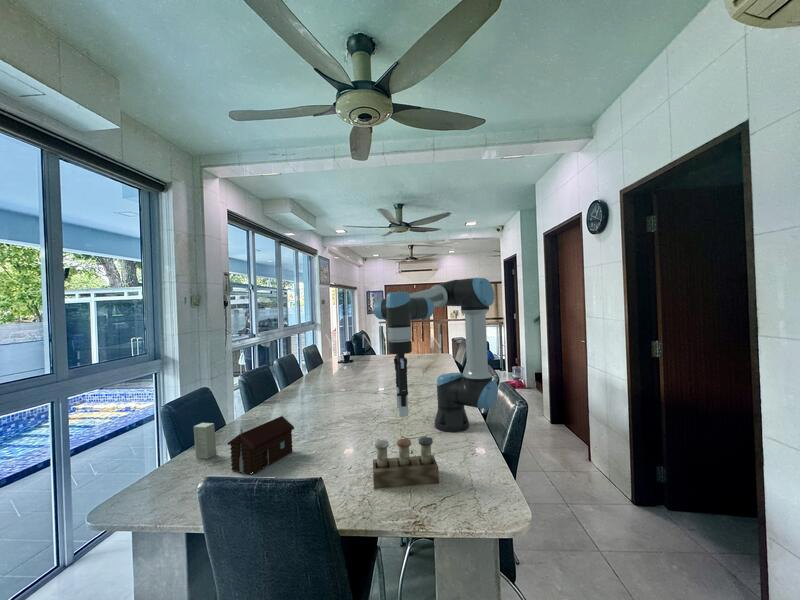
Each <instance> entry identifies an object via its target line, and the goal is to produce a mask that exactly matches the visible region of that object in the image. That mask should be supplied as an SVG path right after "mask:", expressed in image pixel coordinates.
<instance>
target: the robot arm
mask: <svg viewBox="0 0 800 600" xmlns="http://www.w3.org/2000/svg"><path fill="white" fill-rule="evenodd" d="M493 287H494V286H493V285H492V282H490V280H489V279H487V278H485V277H473V278H462V279H460V278H459V279H452V280H449V281H445V282H441V283H438V284H435V285H433V286H431V287H430V288H428V289H423V290H420V291H416V292H411V293H410V292H408V291H394V292H393V291H392V292H391V291H390V292H388V293H386V294H387V295H386V298H381V299H380V298H379V299H377V300H376V301H375V302H374V304H373V314H374V316H375V317H376V318H377V319H378V320H384V321H387V322H386V323H387V330H385V334H387V340H389V341H388V342H387V351H388V353H389V354H390V355H391V354H392V355H395V356H394V358H393V364H394V370H395V386H396V387H395V388H396V391H395V392H396V408H397V409H398V413H399V415H398V417H399V418H404V417H405V418H406V417H407V418H408V417H409V404H408V403H409V401H408V400H409V399H408V398H409V397H408V396H409V391H408V389H409V387H408V358H407V357H405V355H406V354H410V353H412V351H413V347H412V346H413V345H412V340H411V339H412V337H413V336H412V321H416V320H417V321H418V320H419V321H421V320H424V321H425V320H426V319H429V318H431V317H432V316H433V314H434V311H435V307H436V308H442V307H460V311H461V313H463V314H464V323H465V325H464V327H465V329H464V330H465V351H466V352H465V355H466V356H465V357H466V372H465V373H463V372H450V373H443V374H440V375H439V376H437V379H436V396H437V411H436V413H435V414H436V415H435V417H434V428H435V429H436V430H439V431H442V432H448V433H457V432H459V433H460V432H463V431H466V430H469V428H470V421H469V418H468V415H467V412H466V409H465V406H466V407H471V408H475V409H476V408H477V409H481V410H482V409H483V410H489V409H491V408H493V406H494V405H495V403H496V401H497V398H498V395H499V386H498V383H497V381H494V380H493V375H492V373H490V372H489V365H488V364H489V363H488V362H489V361H488V360H489V359H488V340H487V338H488V336H487V335H488V334H487V317H486V316H487V315H486V314H487V313H488V312H489V311H490V307H491V306H492V305H493V304H494V302H495V301H494V300H495V290H494V288H493Z"/></svg>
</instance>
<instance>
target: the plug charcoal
mask: <svg viewBox="0 0 800 600" xmlns="http://www.w3.org/2000/svg"><path fill="white" fill-rule="evenodd" d="M418 444H419V445H420V456H421V462H422V465H430V464H432V461H431V455H432V444H433V438H432V437H430V436H423V437H420V438H419V439H418Z"/></svg>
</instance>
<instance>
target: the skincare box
mask: <svg viewBox="0 0 800 600" xmlns="http://www.w3.org/2000/svg"><path fill="white" fill-rule="evenodd" d="M215 431H216V430H215V423H213V422H200V423H198V424H196V425H194V426H193V437H194V438H193V439H194V451H195V454H194V455H195V458H196V459H205V460H208V459H210V458H212V457H214V456H216V455H217V444H216V432H215Z"/></svg>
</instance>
